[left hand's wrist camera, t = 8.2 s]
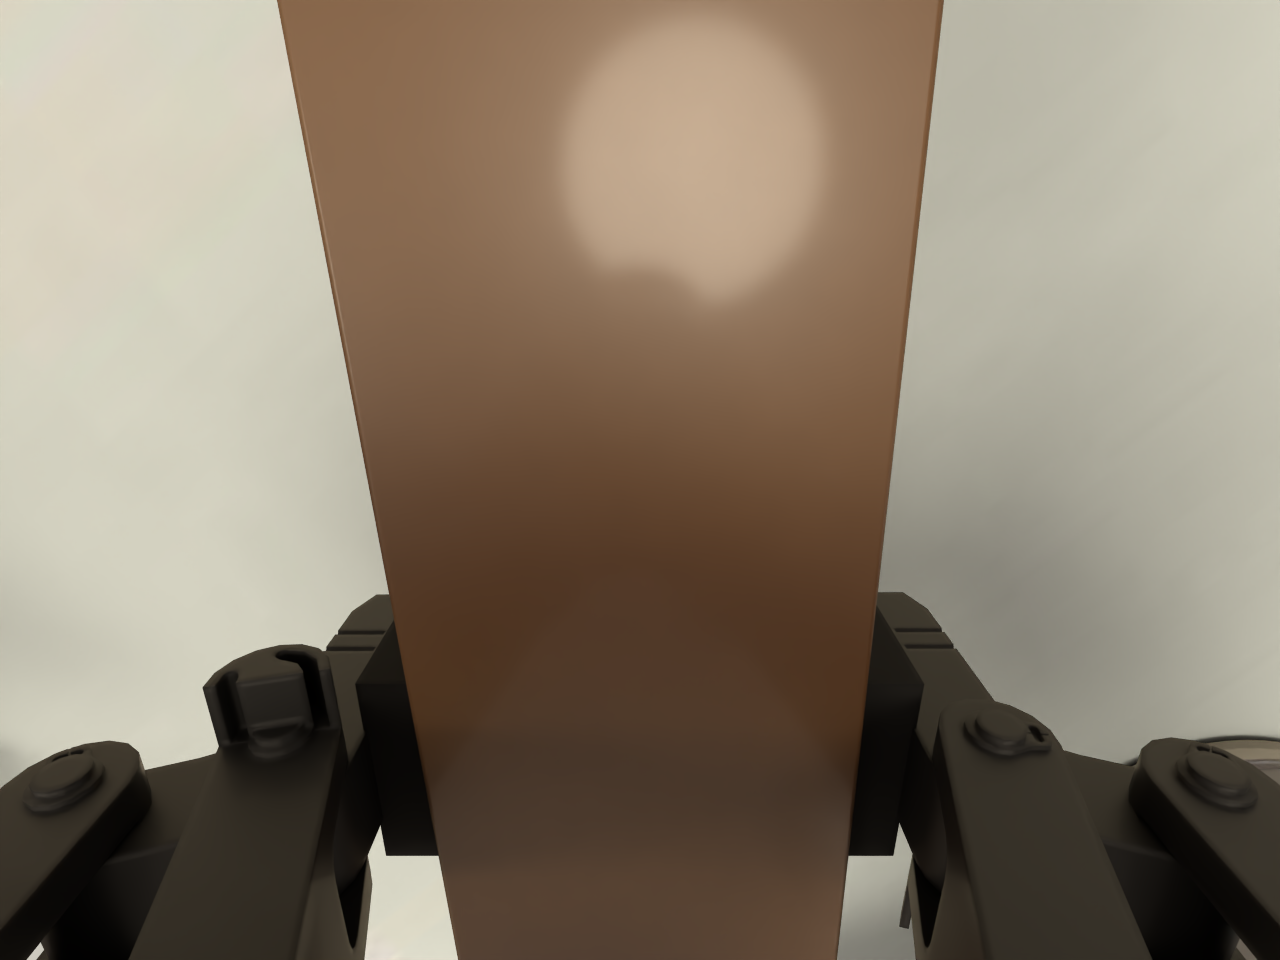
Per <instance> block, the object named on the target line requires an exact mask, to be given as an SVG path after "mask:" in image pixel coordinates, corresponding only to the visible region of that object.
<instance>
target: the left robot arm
mask: <svg viewBox="0 0 1280 960" xmlns="http://www.w3.org/2000/svg"><path fill="white" fill-rule="evenodd" d="M326 648H327V649H326V651H321V650H320V649H319V648H315V647H311V646H307V645H303V644H296V645H278V646H274V647H270V648H265V649H261V650H257V651H254V652H252V653H250V654H247V655H245V656H242V657H240V658H238V659H235V660H233V661H232V662H230V663H229V664H227V665H226V666H224V667H223V668H221V669H220V670H218V671H217V672H215V673H214V674H213V676H212V677H211V678H210V679H209V680H208V682H207V683H206V684H205V685H204V686H203V691H204V695H205V698H206V702H207V705H208V709H209V713H210V716H211V720H212V723H213V727H214V730H215V734H216V738H217V741H218V745H219V748H218V750H217V752H216V753H215V754H212V755H208V756H205V757H202V758H198V759H193V760H189V761H184V762H180V763H175V764H171V765H166V766H162V767H157V768H153V769H148V770H145V769H144V766H143V763H142V760H141V757H140V754H139V752H138V751H137V750H136V749H134V748H133V747H132V746H131V745H129V744H128V743H122V742H115V741H103V742H96V743H89V744H83V745H80V746H77V747H73V748H71V749H66V750H64V751H61V752H58V753H56V754H53V755H52V756H50V757H48V758H46V759H44V760H42V761H40V762H38V763H36V764H34V765H32V766H30V767H28V768H27V769H26V770H24V771H23V772H22V773H20V774H19V775H17V776H16V777H15V778H13V779H12V780H11V781H9V782H8V783H7V784H5V785H4V786H3V787H2V788H1V789H0V960H27V958H28V957H29V956H30V955H31V953H32V952H33V951H34V950H35V948H36V947H37V946H38V945H39V943H40V942H41V944H42V946H43V948H44V951H43V952H42V953H41V955H40V956H39V957H38V958H37V960H364V957H365V948H366V939H367V929H368V920H369V911H370V902H371V892H372V878H371V871H370V865H369V860H368V853H369V851H370V848H371V846H372V844H373V841H374V839H375V837H376V834H377V832H378V830H379V827H380V825H381V830H382V835H383V841H384V846H385V852H386V856H439V855H438V850H437V844H436V839H435V834H434V828H433V823H432V818H431V813H430V807H429V802H428V797H427V791H426V786H425V781H424V776H423V770H422V765H421V760H420V754H419V749H418V744H417V738H416V733H415V728H414V723H413V717H412V712H411V707H410V701H409V696H408V691H407V685H406V680H405V675H404V670H403V664H402V659H401V654H400V648H399V643H398V638H397V633H396V627H395V622H394V617H393V611H392V606H391V601H390V595H375V596H374V597H372V598H371V599H370V600H368V601H367V602H365V603H364V604H362V605H361V606H359V607H358V608H356V609H355V610H353V611H352V612H351V614H350V615H349V616H348V618H347V619H346V621H345V622H344V623H343V625H342V626H341V628H340V629H339V630H338V635H335V636H334V637H333V639H332V640H331V641H330V643H329V644H328V646H327V647H326ZM899 823H900V825H901V827H902V830H903V832H904V834H905V837H906V839H907V842H908V844H909V846H910V849H911V851H912V853H913V855H912V860H911V865H910V870H909V875H908V881H907V886H906V891H905V896H904V901H903V906H902V912H901V919H900V926H899V927H903V928H907V929H909V925H910V920H911V918H912V928H913V937H914V946H915V955H916V960H1280V742H1274V741H1266V740H1232V741H1221V742H1212V743H1206V744H1204V743H1201V742H1198V741H1193V740H1185V739H1178V738H1165V739H1158V740H1152V741H1151V742H1149V743H1148V744H1147V745H1146V746H1145V747H1143V748H1142V749H1141V752H1140V755H1139V758H1138V761H1137V764H1135V765H1133V766H1127V765H1123V764H1118V763H1114V762H1109V761H1105V760H1100V759H1096V758H1091V757H1086V756H1082V755H1078V754H1075V753H1071V752H1068V751H1064V750H1063V749H1062V746H1061V745H1060V743H1059V742H1058V740H1057V739H1056V738H1055V736H1054V735H1053V733H1052V732H1051V730H1050V729H1048V728H1047V727H1046V726H1044V725H1043V724H1042V723H1041V722H1039V721H1038V720H1037V719H1035V718H1034V717H1033V716H1031V715H1029V714H1027V713H1025V712H1023V711H1021V710H1019V709H1017V708H1014V707H1012V706H1010V705H1006V704H1003V703H999V702H995V701H994V700H993V698H992V697H991V695H990V694H989V693H988V691H987V690H986V689H985V687H984V686H983V685H982V683H981V682H980V680H979V679H978V678H977V676H976V675H975V674H974V672H973V671H972V669H971V668H970V667H969V665H968V664H967V663H966V661H965V660H964V658H963V657H962V656H961V654H960V653H959V652H958V650H957V649H954V647H953V643H952V642H951V641H950V639H949V638H948V636H947V635H946V634H945V632H942V628H941V627H940V625H939V624H938V623H937V621H936V620H935V619H934V617H933V616H932V614H931V613H930V612H929V610H928V609H927V608H925V607H924V606H922V605H921V604H919V603H918V602H916V601H915V600H913V599H912V598H911V597H909V596H908V595H906V594H905V593H903V592H878V595H877V604H876V613H875V622H874V631H873V640H872V648H871V657H870V666H869V675H868V684H867V693H866V702H865V711H864V720H863V729H862V738H861V747H860V756H859V765H858V774H857V783H856V792H855V801H854V810H853V819H852V827H851V836H850V845H849V854H848V856H893V854H894V849H895V843H896V838H897V832H898V827H899Z"/></svg>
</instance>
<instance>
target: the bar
mask: <svg viewBox="0 0 1280 960" xmlns="http://www.w3.org/2000/svg"><path fill="white" fill-rule="evenodd" d="M277 2H278V8H279V13H280V18H281V24H282V29H283V34H284V39H285V45H286V50H287V55H288V61H289V66H290V71H291V77H292V82H293V87H294V92H295V98H296V103H297V108H298V114H299V119H300V124H301V129H302V135H303V140H304V145H305V151H306V156H307V161H308V167H309V172H310V177H311V182H312V188H313V193H314V198H315V204H316V209H317V214H318V220H319V225H320V230H321V235H322V241H323V246H324V251H325V257H326V262H327V267H328V272H329V278H330V283H331V288H332V294H333V299H334V304H335V310H336V315H337V320H338V325H339V331H340V336H341V341H342V347H343V352H344V357H345V362H346V368H347V373H348V378H349V384H350V389H351V394H352V400H353V405H354V410H355V415H356V421H357V426H358V431H359V437H360V442H361V447H362V452H363V458H364V463H365V468H366V474H367V479H368V484H369V490H370V495H371V500H372V505H373V511H374V516H375V521H376V527H377V532H378V537H379V543H380V548H381V553H382V558H383V564H384V569H385V574H386V580H387V585H388V590H389V595H390V601H391V606H392V611H393V617H394V622H395V627H396V633H397V638H398V643H399V648H400V654H401V659H402V664H403V670H404V675H405V680H406V685H407V691H408V696H409V701H410V707H411V712H412V717H413V723H414V728H415V733H416V738H417V744H418V749H419V754H420V760H421V765H422V770H423V776H424V781H425V786H426V791H427V797H428V802H429V807H430V813H431V818H432V823H433V828H434V834H435V839H436V844H437V850H438V855H439V860H440V866H441V871H442V876H443V881H444V887H445V892H446V897H447V903H448V908H449V913H450V918H451V924H452V929H453V934H454V940H455V945H456V950H457V956H458V960H837V953H838V944H839V935H840V926H841V917H842V908H843V899H844V890H845V881H846V872H847V863H848V854H849V845H850V836H851V827H852V819H853V810H854V801H855V792H856V783H857V774H858V765H859V756H860V747H861V738H862V729H863V720H864V711H865V702H866V693H867V684H868V675H869V666H870V657H871V648H872V640H873V631H874V622H875V613H876V604H877V595H878V586H879V577H880V568H881V559H882V550H883V541H884V532H885V523H886V514H887V505H888V496H889V487H890V478H891V469H892V460H893V452H894V443H895V434H896V425H897V416H898V407H899V398H900V389H901V380H902V371H903V362H904V353H905V344H906V335H907V326H908V317H909V308H910V299H911V290H912V281H913V273H914V264H915V255H916V246H917V237H918V228H919V219H920V210H921V201H922V192H923V183H924V174H925V165H926V156H927V147H928V138H929V129H930V120H931V111H932V102H933V93H934V85H935V76H936V67H937V58H938V49H939V40H940V31H941V22H942V13H943V4H944V0H277Z"/></svg>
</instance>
